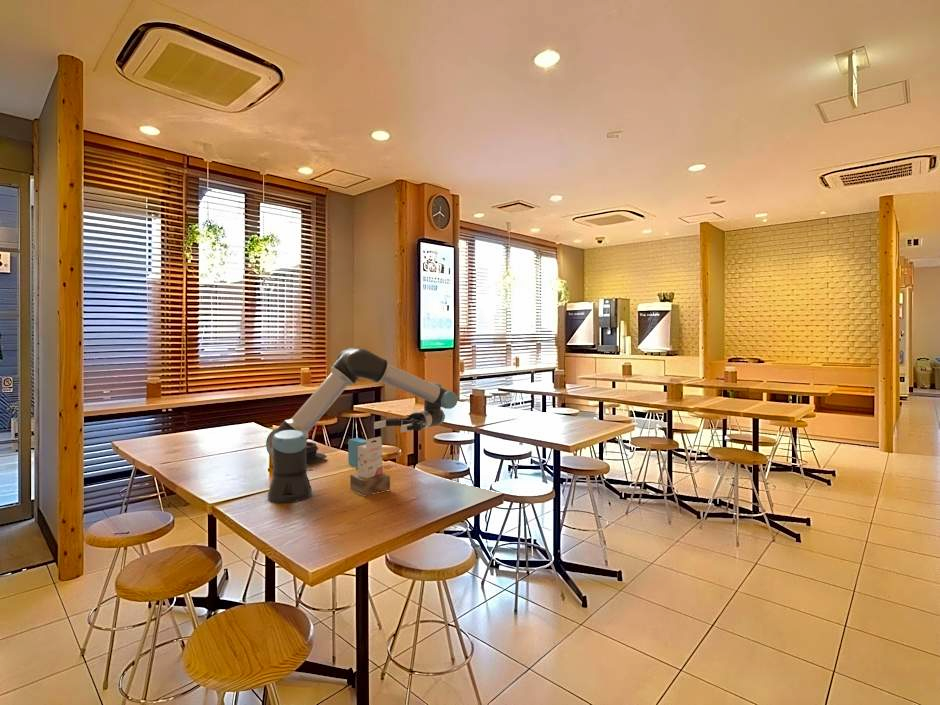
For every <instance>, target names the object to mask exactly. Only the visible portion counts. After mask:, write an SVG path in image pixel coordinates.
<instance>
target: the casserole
mask: <svg viewBox="0 0 940 705" xmlns="http://www.w3.org/2000/svg"><path fill="white" fill-rule="evenodd" d="M318 450H319V447H318V446H317V444H316V443H315V442H312V441H307V445H306V461H307V465H309V464H312V463H314V462H316V461H319V460H323V459H326V458H327V455H326V454H325V453H321V452H318Z"/></svg>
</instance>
